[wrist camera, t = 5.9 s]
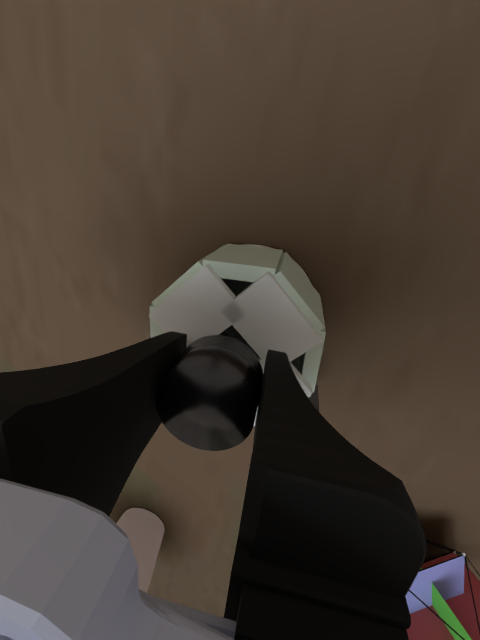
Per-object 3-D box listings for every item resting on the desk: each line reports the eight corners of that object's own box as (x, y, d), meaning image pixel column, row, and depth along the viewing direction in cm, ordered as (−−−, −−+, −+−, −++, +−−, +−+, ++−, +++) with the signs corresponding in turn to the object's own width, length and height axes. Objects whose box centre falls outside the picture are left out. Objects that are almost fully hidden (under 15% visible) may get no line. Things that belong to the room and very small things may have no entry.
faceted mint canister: (363, 347, 17) (387, 410, 12) (262, 406, 20) (248, 477, 15) (260, 214, 16) (239, 223, 11) (165, 297, 18) (113, 335, 13)
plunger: (316, 325, 16) (327, 433, 9) (241, 374, 18) (200, 496, 11) (254, 246, 15) (209, 294, 8) (182, 306, 17) (93, 389, 10)
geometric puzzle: (532, 551, 17) (494, 711, 12) (523, 629, 19) (487, 790, 15) (396, 484, 22) (333, 579, 18) (401, 551, 25) (346, 651, 20)
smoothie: (140, 558, 28) (0, 871, 15) (92, 508, 26) (-108, 804, 14) (196, 540, 25) (86, 892, 13) (146, 485, 24) (-33, 814, 11)
